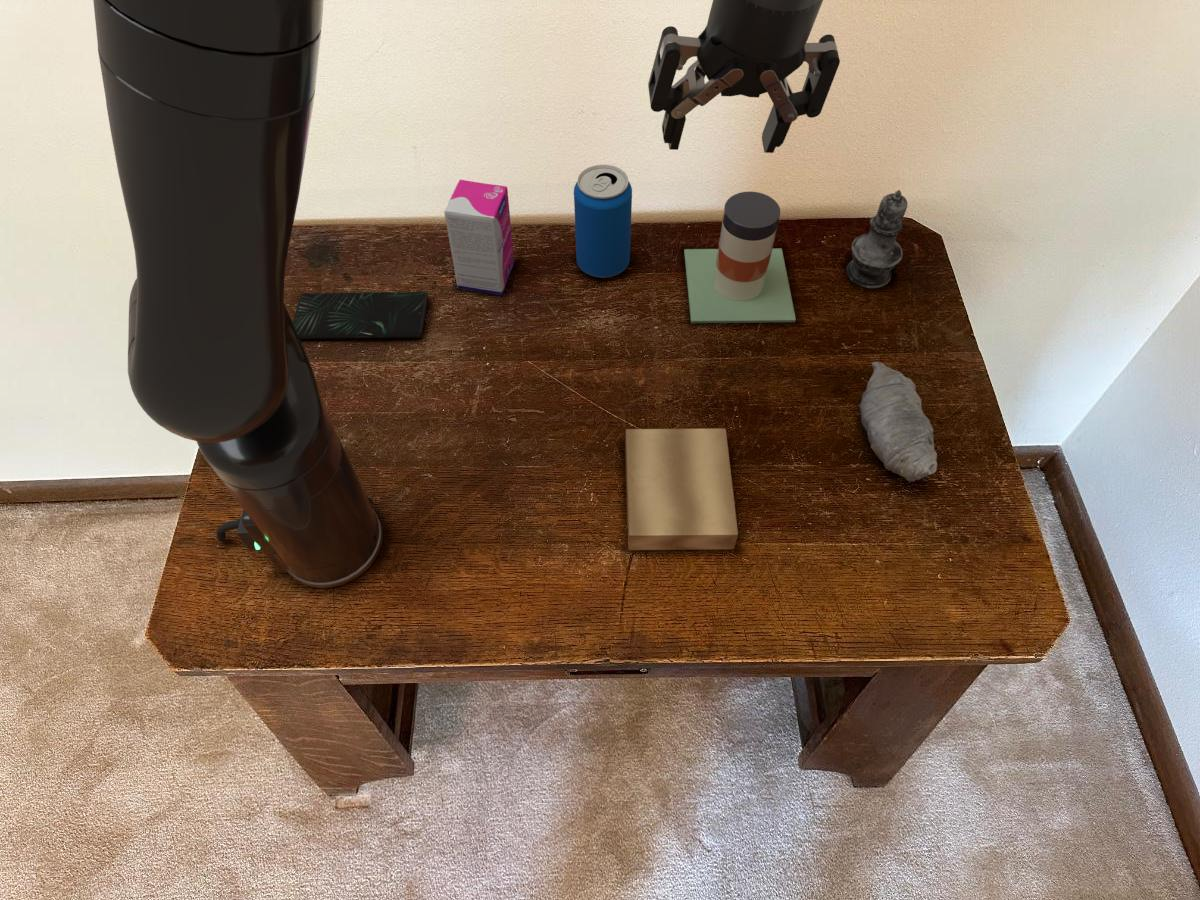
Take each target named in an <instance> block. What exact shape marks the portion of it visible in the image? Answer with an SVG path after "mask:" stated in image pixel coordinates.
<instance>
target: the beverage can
mask: <svg viewBox="0 0 1200 900" xmlns="http://www.w3.org/2000/svg"><path fill="white" fill-rule="evenodd" d="M632 204H633V187H632V184H631V183H630V181H629V177H628V175H627V173H626V172H625V171H624V170H622V169H621V168H620V167H617V166H615V165H612V164H611V165H610V164H596V165H591V166H589V167H587V168H585V169H583V170H582V171H581V172H580V174H578V177H577V181H576V182H575V184H574V187H573V206H574V231H575V233H574V234H575V255H576V256H575V257H576V264H577V266H578V267H579V269H580V270H581V271H582V272H583V273H585V274H587V275H589V276H591V277H595V278H603V279H604V278H605V279H606V278H610V277H615V276H617V275H620V274H621V273H623V272H624V271H625V270H626V269H627V268H628V266H629V265H630V260H631V239H632V238H631V237H632V236H631V234H632V209H633V207H632V206H633V205H632Z"/></svg>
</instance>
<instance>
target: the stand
mask: <svg viewBox="0 0 1200 900" xmlns="http://www.w3.org/2000/svg"><path fill="white" fill-rule="evenodd" d="M624 435H625V436H624V437H625V438H624V439H625V440H624V451H625V452H624V454H625V455H624V457H625V458H624V459H625V489H626V490H625V491H626V522H627V524H626V525H627V526H626V527H627V550H628V551H685V550H687V551H688V550H689V551H690V550H691V551H695V550H696V551H697V550H699V551H701V550H702V551H703V550H705V551H706V550H734V549H735V547H736V543H737V539H738V537H739V528H738V520H737V513H736V503H735V494H734V486H733V479H732V478H733V477H732V471H731V470H732V469H731V462H730V453H729V445H728V437H727V436H728V435H727V429H726V428H725V427H724V428H723V427H722V428H721V427H719V428H717V427H715V428H626V429H625V434H624Z"/></svg>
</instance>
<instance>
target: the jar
mask: <svg viewBox="0 0 1200 900" xmlns="http://www.w3.org/2000/svg"><path fill="white" fill-rule="evenodd" d="M780 217H781V207H780V204H779V203H778V202H777V201H776V200H775V199H774V198H773V197H771V196H770V195H768V194H766V193H762V192H757V191H741V192H737V193H735V194H733V195H732V196H730V197H729V198H728V199H727V200H726V202H725V204H724V208H723V214H722V220H721V227H720V234H719V239H718V245H717V249H718V250H717V257H716V265H715V272H714V278H713V284H714V287H715V289H716V290H717V292H718V293H719V294H721V295H722V296H724V297H725V298H728V299H731V300H735V301H747V300H751V299H753V298H755V297H757V296H758V295H759V294H760V293H761V292H762V290H763V288H764V283H765V279H766V275H767V270H768V267H769V263H770V258H771V254H772V250H773V249H774V243H775V240H776V235H777V231H778V226H779V221H780Z"/></svg>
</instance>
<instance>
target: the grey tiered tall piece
mask: <svg viewBox="0 0 1200 900" xmlns="http://www.w3.org/2000/svg"><path fill="white" fill-rule="evenodd" d="M908 206H909V205H908V201H907V198H906V197H905V196H904V195H902V191H901V190H900V189H898V190H896V191H895V192H894V193H893V192H892V193H889V194H886V195H885V196H883V198H882V199H881V201H880V203H879V206H878V209H877V212H876V214H875V215H874V216H872V218H870V222H869V223H870V229H869V232H868V233H864V234H861V235H859V236H857V237H856V238H855V239H853V241H852V244H851V246H850V247H851V248H850V249H851V255H852V260H851V261H849V262H848V264H847V265H846V270H845V271H846V275H847V277H848V279H850V280H851V282H853V284H856V285H857V286H860V287H862V288H864V289H865V288H866V289H880V288H883V287H885V286H886V285H888V284H889V283H890V281H891V279H892V271H891V270H893V269H894V268H895V267H896V265H898V264H899V263H900V262H901V260H902V259H903V254H904V252H903V249H902V247H901V244H899V243H898V242H897V241H896V239H897V236H898V234H900V233H901V232H902V231H903V228H904V223H903V222H902V221H903V219H904V217H905V214H906V211H907V209H908Z"/></svg>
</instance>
